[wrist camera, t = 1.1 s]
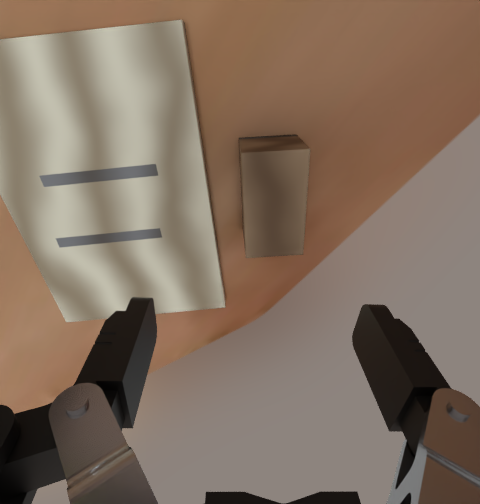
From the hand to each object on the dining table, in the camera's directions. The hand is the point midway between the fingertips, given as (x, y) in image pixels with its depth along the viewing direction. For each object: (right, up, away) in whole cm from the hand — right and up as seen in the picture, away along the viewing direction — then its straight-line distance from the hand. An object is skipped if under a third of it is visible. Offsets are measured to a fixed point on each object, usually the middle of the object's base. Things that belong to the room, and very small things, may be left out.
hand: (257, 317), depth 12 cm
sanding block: (+2, +9, +17) cm, 20 cm away
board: (-12, +7, +17) cm, 23 cm away
